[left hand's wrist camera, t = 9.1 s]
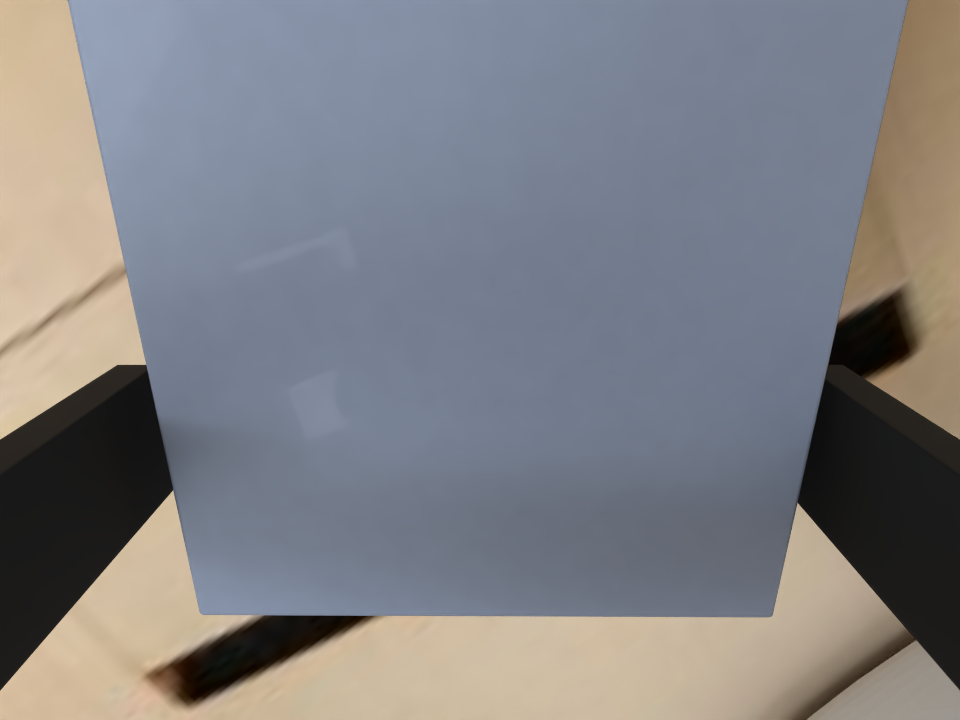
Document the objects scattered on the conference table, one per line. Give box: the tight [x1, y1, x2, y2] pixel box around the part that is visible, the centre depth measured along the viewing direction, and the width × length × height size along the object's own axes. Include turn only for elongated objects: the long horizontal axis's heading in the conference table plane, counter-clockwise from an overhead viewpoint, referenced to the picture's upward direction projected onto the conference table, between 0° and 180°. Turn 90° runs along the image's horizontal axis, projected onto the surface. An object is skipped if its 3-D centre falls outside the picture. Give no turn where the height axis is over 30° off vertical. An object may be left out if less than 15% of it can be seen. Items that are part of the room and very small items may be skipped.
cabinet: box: [68, 0, 908, 617], centre depth 13 cm, size 20×11×10 cm, turn 0°
